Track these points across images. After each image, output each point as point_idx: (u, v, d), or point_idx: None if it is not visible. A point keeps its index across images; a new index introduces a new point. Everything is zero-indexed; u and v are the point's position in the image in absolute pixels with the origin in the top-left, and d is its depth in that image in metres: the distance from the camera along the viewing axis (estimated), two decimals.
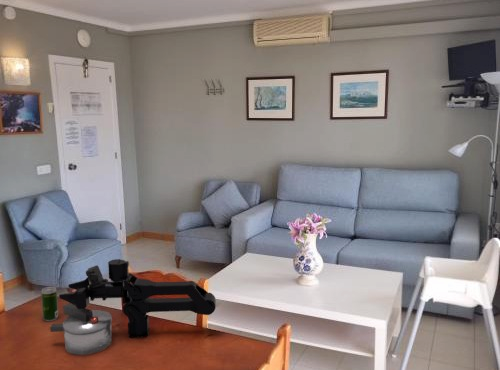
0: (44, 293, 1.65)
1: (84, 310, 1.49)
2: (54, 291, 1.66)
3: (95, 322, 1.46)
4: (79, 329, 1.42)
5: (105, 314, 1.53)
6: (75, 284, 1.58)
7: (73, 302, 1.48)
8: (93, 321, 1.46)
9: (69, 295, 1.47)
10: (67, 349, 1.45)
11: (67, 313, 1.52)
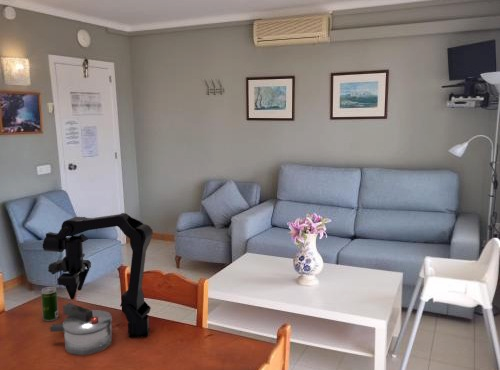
0: (44, 293, 1.65)
1: (84, 310, 1.49)
2: (54, 291, 1.66)
3: (95, 322, 1.46)
4: (79, 329, 1.42)
5: (105, 314, 1.53)
6: None
7: (75, 287, 1.52)
8: (93, 321, 1.46)
9: (68, 290, 1.53)
10: (67, 349, 1.45)
11: (67, 313, 1.52)
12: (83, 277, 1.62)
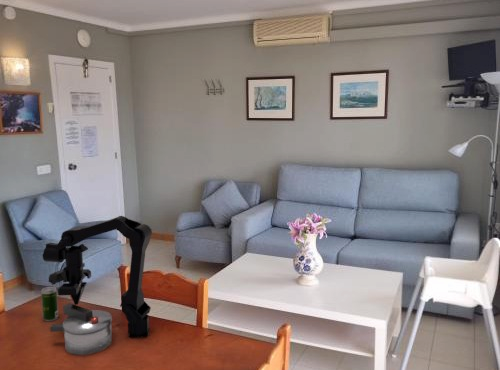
0: (44, 293, 1.65)
1: (84, 310, 1.49)
2: (54, 291, 1.66)
3: (95, 322, 1.46)
4: (79, 329, 1.42)
5: (105, 314, 1.53)
6: None
7: (78, 292, 1.57)
8: (93, 321, 1.46)
9: (72, 295, 1.57)
10: (67, 349, 1.45)
11: (67, 313, 1.52)
12: None
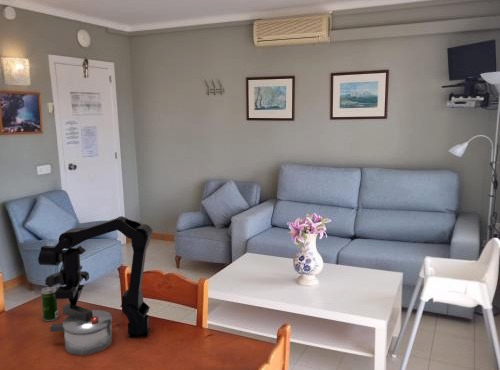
0: (44, 293, 1.65)
1: (84, 310, 1.49)
2: (54, 291, 1.66)
3: (95, 322, 1.46)
4: (80, 329, 1.42)
5: (104, 314, 1.53)
6: None
7: (76, 295, 1.54)
8: (93, 321, 1.46)
9: (70, 298, 1.55)
10: (67, 349, 1.45)
11: (66, 313, 1.52)
12: None
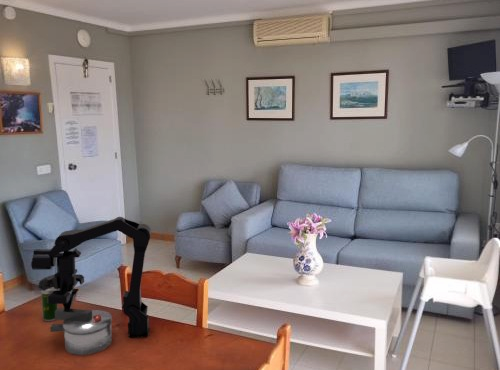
0: (44, 293, 1.65)
1: (83, 311, 1.49)
2: None
3: (99, 320, 1.48)
4: (88, 328, 1.43)
5: (100, 312, 1.54)
6: None
7: (70, 299, 1.50)
8: (97, 319, 1.47)
9: None
10: (67, 349, 1.45)
11: (60, 318, 1.49)
12: None
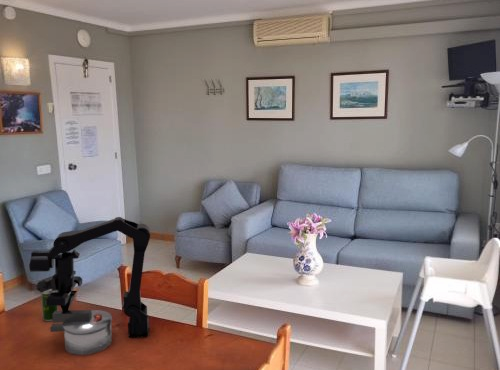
0: (44, 293, 1.65)
1: (82, 311, 1.49)
2: (54, 291, 1.66)
3: (100, 318, 1.49)
4: (92, 327, 1.44)
5: (97, 312, 1.55)
6: None
7: (68, 301, 1.48)
8: (99, 318, 1.48)
9: None
10: (67, 349, 1.45)
11: (58, 320, 1.47)
12: None
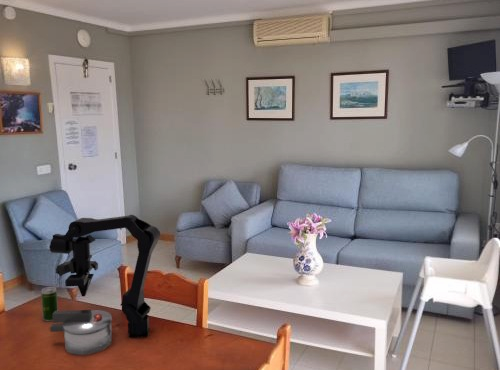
0: (44, 293, 1.65)
1: (82, 311, 1.49)
2: (54, 291, 1.66)
3: (100, 318, 1.49)
4: (92, 327, 1.44)
5: (97, 312, 1.55)
6: None
7: (86, 284, 1.55)
8: (99, 318, 1.48)
9: (79, 287, 1.56)
10: (67, 349, 1.45)
11: (58, 320, 1.47)
12: None
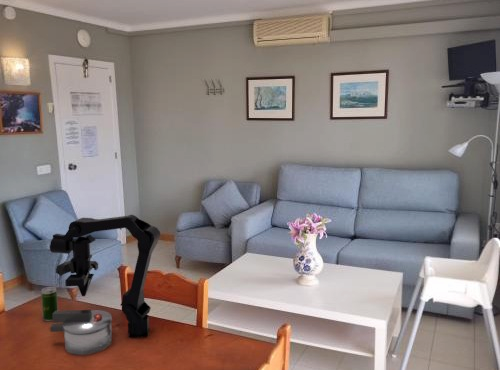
0: (44, 293, 1.65)
1: (82, 311, 1.49)
2: (54, 291, 1.66)
3: (100, 318, 1.49)
4: (92, 327, 1.44)
5: (97, 312, 1.55)
6: None
7: (86, 284, 1.55)
8: (99, 318, 1.48)
9: (80, 287, 1.56)
10: (67, 349, 1.45)
11: (58, 320, 1.47)
12: None
